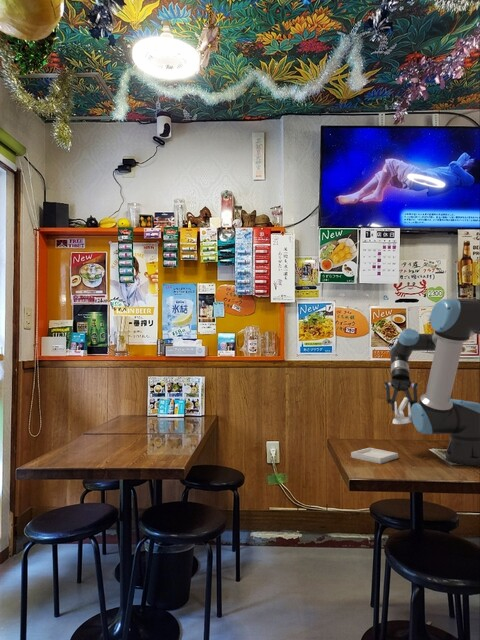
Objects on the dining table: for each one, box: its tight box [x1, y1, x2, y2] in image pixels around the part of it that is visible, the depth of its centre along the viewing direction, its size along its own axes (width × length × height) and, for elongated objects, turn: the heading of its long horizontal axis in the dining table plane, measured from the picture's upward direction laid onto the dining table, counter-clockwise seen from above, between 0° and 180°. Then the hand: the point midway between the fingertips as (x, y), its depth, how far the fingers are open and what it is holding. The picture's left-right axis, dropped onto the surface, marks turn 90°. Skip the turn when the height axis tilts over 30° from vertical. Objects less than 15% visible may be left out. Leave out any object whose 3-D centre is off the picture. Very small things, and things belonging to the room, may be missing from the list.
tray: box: [350, 447, 399, 465], centre depth 175 cm, size 13×13×2 cm
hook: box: [392, 396, 413, 425], centre depth 180 cm, size 8×12×7 cm
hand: (402, 416), depth 176 cm, fingers closed on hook, 4 cm apart
